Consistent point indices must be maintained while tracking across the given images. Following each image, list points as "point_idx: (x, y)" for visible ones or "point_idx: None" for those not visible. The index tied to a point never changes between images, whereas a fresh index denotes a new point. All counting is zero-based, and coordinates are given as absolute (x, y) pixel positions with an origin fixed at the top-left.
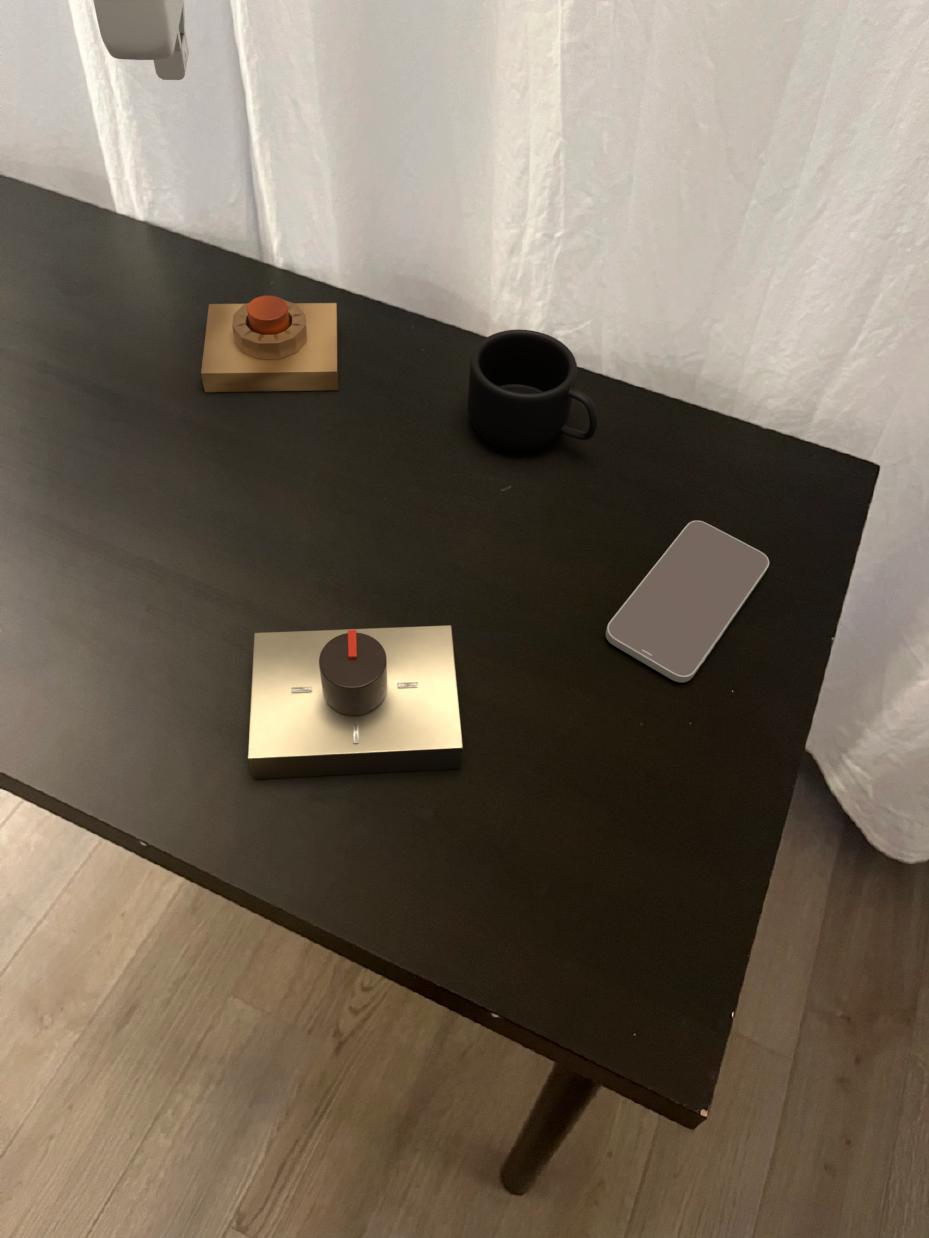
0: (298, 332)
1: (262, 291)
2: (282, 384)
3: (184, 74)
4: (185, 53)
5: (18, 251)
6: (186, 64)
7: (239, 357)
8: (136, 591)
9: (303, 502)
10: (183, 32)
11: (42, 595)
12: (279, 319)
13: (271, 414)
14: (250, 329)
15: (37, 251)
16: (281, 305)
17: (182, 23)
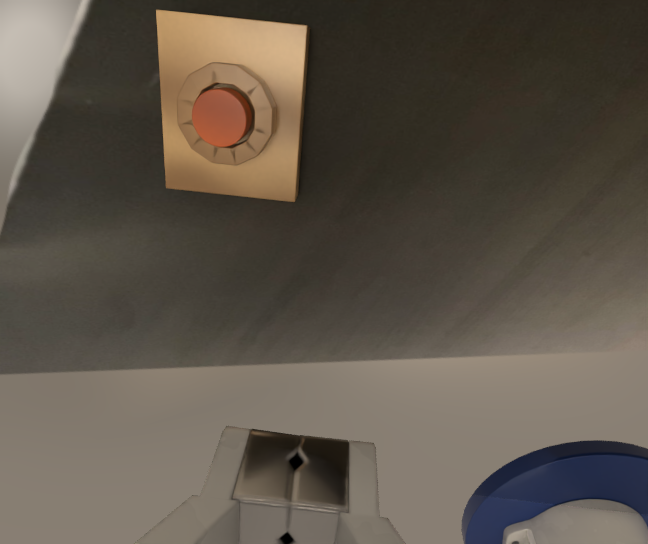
0: (250, 76)
1: (107, 115)
2: (303, 104)
3: (374, 447)
4: (285, 460)
5: (66, 365)
6: (307, 440)
7: (270, 156)
8: (562, 264)
9: (496, 94)
10: (236, 504)
11: (538, 333)
12: (241, 103)
13: (343, 121)
14: None
15: (63, 350)
16: (214, 98)
17: (213, 528)
